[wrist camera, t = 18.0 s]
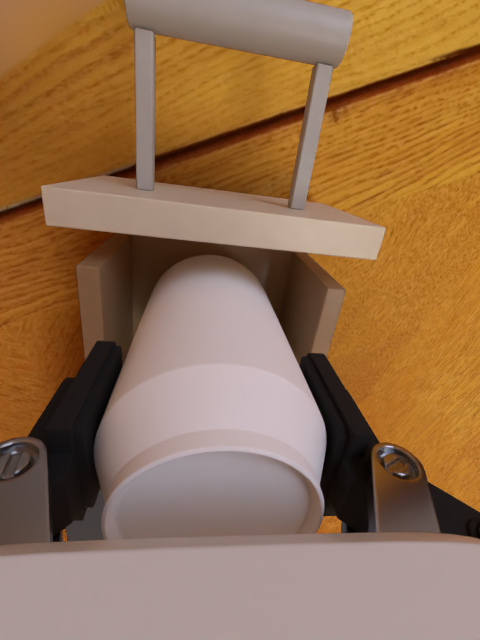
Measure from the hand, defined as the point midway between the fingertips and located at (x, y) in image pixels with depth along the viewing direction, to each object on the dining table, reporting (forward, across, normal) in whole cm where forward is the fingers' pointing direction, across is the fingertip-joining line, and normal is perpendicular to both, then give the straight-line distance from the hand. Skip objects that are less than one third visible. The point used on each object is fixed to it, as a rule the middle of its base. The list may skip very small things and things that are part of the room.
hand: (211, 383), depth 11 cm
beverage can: (+7, 0, 0) cm, 7 cm away
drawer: (+9, 0, -2) cm, 9 cm away
